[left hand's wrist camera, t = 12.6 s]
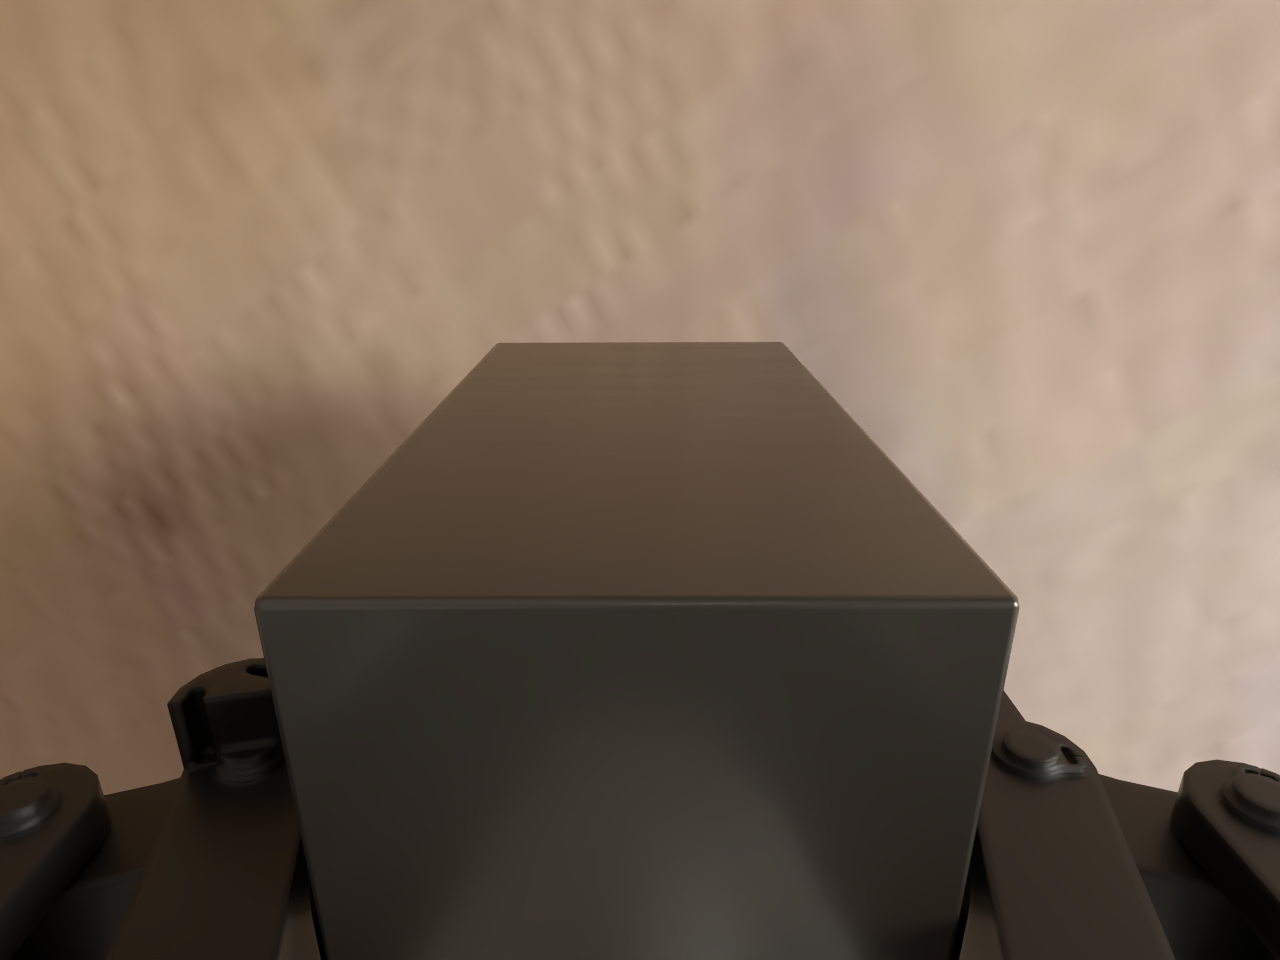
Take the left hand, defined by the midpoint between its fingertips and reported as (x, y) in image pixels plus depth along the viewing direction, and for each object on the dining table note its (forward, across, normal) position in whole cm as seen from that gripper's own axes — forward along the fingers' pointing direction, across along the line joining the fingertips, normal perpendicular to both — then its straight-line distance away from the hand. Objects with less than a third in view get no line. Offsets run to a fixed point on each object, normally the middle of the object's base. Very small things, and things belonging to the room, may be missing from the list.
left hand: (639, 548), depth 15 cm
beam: (0, 0, -13) cm, 13 cm away
